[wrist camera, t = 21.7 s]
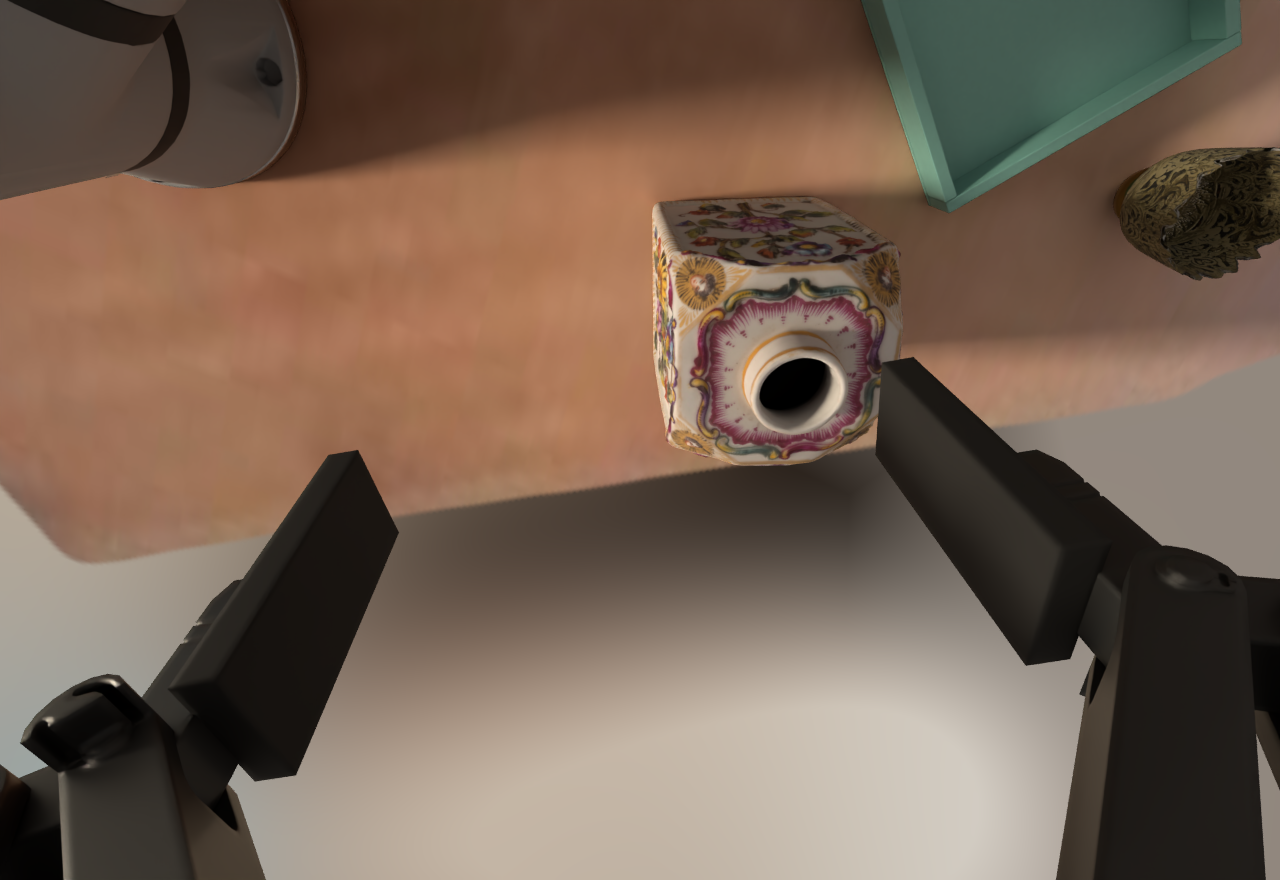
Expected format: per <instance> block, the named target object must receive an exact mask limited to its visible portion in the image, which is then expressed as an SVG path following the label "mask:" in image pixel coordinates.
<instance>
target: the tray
mask: <svg viewBox="0 0 1280 880" xmlns="http://www.w3.org/2000/svg"><path fill="white" fill-rule="evenodd" d="M861 2H862V5H863V8H864V11H865V14H866V17H867V20H868V24H869V27H870V30H871V33H872V36H873V39H874V42H875V45H876V48H877V51H878V54H879V57H880V60H881V63H882V66H883V69H884V72H885V75H886V78H887V81H888V84H889V87H890V90H891V93H892V96H893V99H894V102H895V105H896V108H897V111H898V114H899V117H900V120H901V123H902V126H903V129H904V132H905V135H906V138H907V141H908V144H909V147H910V150H911V153H912V156H913V159H914V162H915V166H916V169H917V172H918V175H919V178H920V181H921V184H922V187H923V190H924V193H925V196H926V199H927V202H928V205H929V206H933V207H935V208H937V209H940V210H942V211H945V212H947V213H951V212H952V211H954V210H956V209H958V208H959V207H961V206H963V205H965V204H966V203H968V202H970V201H972V200H973V199H975V198H977V197H978V196H980V195H982V194H984V193H985V192H987V191H989V190H991V189H992V188H994V187H996V186H997V185H999V184H1001V183H1003V182H1004V181H1006V180H1008V179H1010V178H1011V177H1013V176H1015V175H1016V174H1018V173H1020V172H1022V171H1023V170H1025V169H1027V168H1029V167H1030V166H1032V165H1034V164H1035V163H1037V162H1039V161H1041V160H1042V159H1044V158H1046V157H1048V156H1049V155H1051V154H1053V153H1055V152H1056V151H1058V150H1060V149H1061V148H1063V147H1065V146H1067V145H1068V144H1070V143H1072V142H1074V141H1075V140H1077V139H1079V138H1080V137H1082V136H1084V135H1086V134H1087V133H1089V132H1091V131H1093V130H1094V129H1096V128H1098V127H1099V126H1101V125H1103V124H1105V123H1106V122H1108V121H1110V120H1112V119H1113V118H1115V117H1117V116H1119V115H1120V114H1122V113H1124V112H1125V111H1127V110H1129V109H1131V108H1132V107H1134V106H1136V105H1138V104H1139V103H1141V102H1143V101H1144V100H1146V99H1148V98H1150V97H1151V96H1153V95H1155V94H1157V93H1158V92H1160V91H1162V90H1163V89H1165V88H1167V87H1169V86H1170V85H1172V84H1174V83H1176V82H1177V81H1179V80H1181V79H1183V78H1184V77H1186V76H1188V75H1189V74H1191V73H1193V72H1195V71H1196V70H1198V69H1200V68H1202V67H1203V66H1205V65H1207V64H1208V63H1210V62H1212V61H1214V60H1215V59H1217V58H1219V57H1221V56H1222V55H1224V54H1226V53H1227V52H1229V51H1231V50H1233V49H1234V48H1236V47H1238V46H1240V45H1241V44H1242V39H1241V31H1240V30H1241V14H1240V0H861Z"/></svg>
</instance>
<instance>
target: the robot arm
mask: <svg viewBox="0 0 1280 880" xmlns="http://www.w3.org/2000/svg"><path fill="white" fill-rule="evenodd" d="M306 92H307V76H306V64H305V58H304V52H303V47H302V43H301V39H300V35H299V31H298V28H297V25H296V22H295V20H294V17H293V14H292V12H291V9H290V7H289V5H288V2H287V0H0V200H2V199H7V198H11V197H16V196H20V195H24V194H29V193H33V192H38V191H42V190H47V189H51V188H56V187H60V186H65V185H69V184H73V183H78V182H82V181H87V180H91V179H96V178H100V177H105V176H107V177H112V176H117V175H119V174H120V173H121V174H126V175H131V176H134V177H137V178H140V179H143V180H146V181H150V182H154V183H157V184H162V185H166V186H172V187H179V188H214V187H221V186H226V185H230V184H234V183H238V182H241V181H244V180H247V179H249V178H252V177H254V176H256V175H258V174H260V173H262V172H264V171H265V170H267V169H268V168H270V167H271V166H272V165H274V164H275V163H276V162H277V161H278V160H279V159H280V158H281V157H282V156H283V155H284V153H285V152H286V151H287V150H288V148H289V147H290V145H291V143H292V142H293V140H294V138H295V136H296V134H297V132H298V130H299V127H300V124H301V121H302V118H303V113H304V108H305V102H306ZM107 177H106V178H107ZM876 456H877V458H878V459H879V461H880V462H881V463H882V465H883V466H884V468H885V469H886V470H887V472H888V473H889V475H890V476H891V478H892V479H893V480H894V482H895V483H896V485H897V486H898V487H899V489H900V490H901V492H902V493H903V494H904V496H905V497H906V498H907V500H908V501H909V503H910V504H911V505H912V507H913V508H914V510H915V511H916V512H917V514H918V515H919V517H920V518H921V520H922V521H923V522H924V524H925V525H926V527H927V528H928V529H929V531H930V532H931V534H932V535H933V536H934V538H935V539H936V540H937V542H938V543H939V545H940V546H941V547H942V549H943V550H944V552H945V553H946V554H947V556H948V557H949V559H950V560H951V562H952V563H953V564H954V566H955V567H956V568H957V570H958V571H959V573H960V574H961V576H962V577H963V578H964V580H965V581H966V583H967V584H968V585H969V587H970V588H971V590H972V591H973V592H974V593H975V595H976V597H977V598H978V599H979V601H980V602H981V604H982V605H983V606H984V608H985V609H986V611H987V612H988V613H989V615H990V616H991V617H992V619H993V620H994V622H995V623H996V624H997V626H998V627H999V629H1000V630H1001V632H1002V633H1003V634H1004V636H1005V637H1006V639H1007V640H1008V641H1009V643H1010V644H1011V646H1012V647H1013V648H1014V650H1015V651H1016V652H1017V654H1018V655H1019V657H1020V658H1021V660H1022V661H1023V662H1024V664H1025V665H1026V666H1027V665H1034V664H1041V663H1047V662H1054V661H1060V660H1067V659H1070V658H1071V656H1072V653H1073V650H1074V647H1075V645H1076V642H1077V639H1078V636H1080V638H1081V639H1082V640H1083V641H1084V642H1085V644H1086V645H1087V646H1088V647H1089V648H1090V649H1091V651H1092V652H1093V653H1094V654H1095V656H1094V658H1093V661H1092V664H1091V666H1090V668H1089V671H1088V674H1087V676H1086V679H1085V681H1084V684H1083V686H1082V689H1081V692H1080V695H1082V696H1085V702H1084V708H1083V715H1082V722H1081V727H1080V733H1079V740H1078V746H1077V752H1076V758H1075V765H1074V771H1073V777H1072V783H1071V790H1070V796H1069V802H1068V809H1067V815H1066V821H1065V827H1064V833H1063V839H1062V846H1061V852H1060V858H1059V865H1058V871H1057V877H1056V880H1266V877H1265V862H1264V846H1263V831H1262V816H1261V801H1260V786H1259V770H1258V755H1257V740H1256V734H1257V736H1258V739H1259V742H1260V744H1261V746H1262V749H1263V751H1264V754H1265V756H1266V758H1267V761H1268V763H1269V766H1270V768H1271V770H1272V773H1273V775H1274V777H1275V780H1276V782H1277V784H1278V787H1279V789H1280V579H1271V578H1259V577H1246V576H1237V575H1236V574H1235V573H1234V572H1233V571H1232V570H1231V569H1230V568H1229V567H1228V566H1226V565H1224V564H1223V563H1221V562H1219V561H1217V560H1215V559H1214V558H1212V557H1210V556H1208V555H1205V554H1202V553H1199V552H1196V551H1193V550H1190V549H1187V548H1179V547H1173V546H1162V545H1160V544H1159V543H1158V542H1157V541H1156V540H1155V539H1154V538H1152V537H1151V536H1150V535H1149V534H1148V533H1147V532H1145V531H1144V530H1143V529H1142V528H1141V527H1140V526H1138V525H1137V524H1136V523H1135V522H1133V521H1132V520H1131V519H1130V518H1129V517H1128V516H1127V515H1125V514H1124V513H1123V512H1122V511H1121V510H1120V509H1118V508H1117V507H1116V506H1115V505H1114V504H1112V503H1111V502H1110V501H1109V500H1108V499H1107V498H1105V497H1104V496H1100V493H1099V492H1098V491H1097V490H1096V489H1095V488H1094V487H1092V486H1091V485H1090V484H1089V483H1088V482H1086V483H1085V482H1084V479H1083V478H1082V477H1081V476H1080V475H1078V474H1077V473H1076V472H1075V471H1074V470H1072V469H1071V468H1070V467H1069V466H1068V465H1067V464H1065V463H1064V462H1062V461H1060V460H1058V459H1056V458H1054V457H1052V456H1049V455H1047V454H1045V453H1043V452H1041V451H1039V450H1032V451H1025V452H1019V453H1017V452H1015V451H1014V450H1013V449H1012V448H1011V447H1010V446H1009V445H1008V444H1007V443H1006V442H1005V441H1003V440H1002V439H1001V438H1000V437H999V436H998V435H997V434H996V433H995V432H994V431H993V430H992V429H991V428H989V427H988V426H987V425H986V424H985V423H984V422H983V421H982V420H981V419H980V418H979V417H978V416H976V415H975V414H974V413H973V412H972V411H971V410H970V409H969V408H968V407H967V406H966V405H965V404H963V403H962V402H961V401H960V400H959V399H958V398H957V397H956V396H955V395H954V394H953V393H952V392H950V391H949V390H948V389H947V388H946V387H945V386H944V385H943V384H942V383H941V382H940V381H939V380H937V379H936V378H935V377H934V376H933V375H932V374H931V373H930V372H929V371H928V370H927V369H926V368H924V367H923V366H922V365H921V364H920V363H919V362H918V361H917V360H916V359H915V358H914V357H911V358H905V359H899V360H893V361H887V362H882V367H881V382H880V396H879V411H878V426H877V440H876ZM398 533H399V532H398V530H397V528H396V526H395V524H394V522H393V520H392V518H391V516H390V514H389V512H388V510H387V508H386V506H385V504H384V502H383V500H382V497H381V495H380V493H379V491H378V489H377V487H376V485H375V483H374V481H373V479H372V477H371V475H370V473H369V471H368V469H367V467H366V465H365V463H364V461H363V459H362V457H361V455H360V453H359V451H358V450H356V451H350V452H344V453H338V454H332V455H328V456H327V458H326V459H325V461H324V462H323V464H322V465H321V467H320V468H319V469H318V471H317V472H316V474H315V475H314V477H313V478H312V480H311V481H310V482H309V484H308V485H307V487H306V488H305V490H304V491H303V493H302V494H301V496H300V497H299V498H298V500H297V501H296V503H295V504H294V506H293V507H292V509H291V510H290V512H289V513H288V514H287V516H286V517H285V519H284V520H283V522H282V523H281V525H280V526H279V527H278V529H277V530H276V532H275V533H274V535H273V536H272V538H271V539H270V541H269V542H268V543H267V545H266V546H265V548H264V549H263V551H262V552H261V554H260V555H259V556H258V558H257V559H256V561H255V563H254V564H253V565H252V567H251V568H250V570H249V571H248V573H247V574H246V575H245V577H244V578H243V579H242V580H236V581H233V582H232V583H231V584H230V585H229V586H228V587H227V588H225V589H224V590H223V591H222V592H221V593H220V594H219V595H218V596H216V597H215V598H214V599H213V600H212V601H211V602H210V604H209V605H208V606H207V608H206V609H205V611H204V612H203V613H202V615H201V616H200V617H199V619H198V620H197V622H196V623H197V625H196V626H193V627H192V629H191V630H190V631H189V633H188V634H187V636H186V637H185V638H184V643H183V644H180V645H179V647H178V648H177V649H176V651H175V652H174V654H173V655H172V656H171V658H170V659H169V661H168V662H167V663H166V665H165V666H164V667H163V669H162V670H161V672H160V673H159V674H158V676H157V677H156V679H155V680H154V681H153V683H152V684H151V686H150V687H149V688H148V690H147V691H146V693H145V694H144V695H143V697H142V698H141V697H140V696H139V695H138V694H137V693H136V692H135V691H134V690H133V689H132V688H131V687H130V686H129V685H128V684H127V683H126V682H125V681H124V680H123V679H122V678H121V677H120V676H119V675H111V674H106V675H101V676H98V677H93V678H90V679H88V680H86V681H84V682H82V683H80V684H77V685H75V686H73V687H71V688H70V689H68V690H67V691H65V692H64V693H62V694H61V695H59V696H58V697H56V698H55V699H53V700H52V701H51V702H50V703H49V704H48V705H46V706H45V707H44V708H43V709H42V710H41V711H40V712H39V713H38V714H36V716H35V717H34V718H33V720H32V721H31V722H30V724H29V725H28V726H27V728H26V729H25V730H24V734H23V737H22V739H21V742H20V743H21V744H22V745H23V746H24V747H25V748H27V749H28V750H29V751H31V752H32V753H33V754H35V755H36V756H37V757H38V758H39V759H41V760H42V761H43V762H44V763H46V764H47V765H48V766H47V767H45V768H42V769H40V770H38V771H35V772H33V773H30V774H28V775H25V776H23V777H21V778H18V777H16V776H15V775H13V774H12V773H11V772H9V771H8V770H7V769H5V768H4V767H3V766H2V765H0V880H266V879H265V876H264V873H263V870H262V867H261V864H260V861H259V858H258V855H257V852H256V849H255V846H254V844H253V840H252V837H251V835H250V831H249V828H248V825H247V822H246V819H245V817H244V814H243V811H242V808H241V805H240V802H239V799H238V796H237V794H236V793H235V792H234V790H233V789H232V788H231V787H230V786H229V785H228V782H229V780H230V779H231V777H232V775H233V773H234V771H235V769H236V767H237V765H238V764H239V765H240V766H241V767H242V768H243V769H244V770H245V771H246V773H247V774H248V775H249V776H250V777H251V778H252V779H253V780H254V781H261V780H268V779H274V778H282V777H288V776H294V775H296V774H297V771H298V769H299V767H300V764H301V762H302V759H303V757H304V755H305V753H306V750H307V748H308V746H309V743H310V741H311V738H312V736H313V734H314V731H315V729H316V727H317V724H318V722H319V719H320V717H321V715H322V713H323V710H324V708H325V705H326V703H327V701H328V698H329V696H330V694H331V691H332V689H333V687H334V684H335V682H336V680H337V677H338V675H339V672H340V670H341V668H342V665H343V663H344V661H345V658H346V656H347V653H348V651H349V649H350V646H351V644H352V642H353V639H354V637H355V635H356V632H357V630H358V628H359V625H360V623H361V620H362V618H363V616H364V614H365V611H366V609H367V606H368V604H369V602H370V599H371V597H372V594H373V592H374V590H375V588H376V585H377V583H378V580H379V578H380V576H381V573H382V571H383V569H384V566H385V564H386V562H387V559H388V557H389V555H390V552H391V550H392V548H393V545H394V543H395V540H396V538H397V535H398Z"/></svg>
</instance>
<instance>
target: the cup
mask: <svg viewBox="0 0 1280 880" xmlns="http://www.w3.org/2000/svg"><path fill="white" fill-rule="evenodd" d="M1113 208H1114V211H1115V213H1116V215H1117V217H1118V218H1119V219H1120V224H1121V229H1122V232H1123V234H1124V235H1125V237H1126V239H1127V240H1128V241H1129V242H1130V243H1131V244H1132V245H1133V246H1134V247H1135V248H1136V249H1138V250H1139V251H1141V252H1142V253H1144V254H1145V255H1147V256H1149V257H1151V258H1152V259H1154V260H1156V261H1158V262H1160V263H1162V264H1163V265H1165V266H1167V267H1169V268H1171V269H1173V270H1175V271H1177V272H1179V273H1180V274H1182V275H1187V276H1189V277H1190V278H1192V279H1195V280H1201V279H1202V278H1203V277H1202V276H1204V277H1208V278H1221V277H1222V276H1223V274H1224V273H1236V272H1238V261H1237V260H1250V259H1258V258H1261V256H1260V254H1259V253H1258V251H1257V249H1258V248H1260V247H1261V246H1264V245H1268V244H1271V243H1273V242H1274V241H1276V240H1278V239H1280V148H1275V147H1273V148H1263V147H1260V148H1211V149H1198V150H1191V151H1186V152H1182V153H1178V154H1176V155H1173V156H1170V157H1168V158H1165V159H1163V160H1161V161H1160V162H1158V163H1156V164H1155V165H1153V166H1152V167H1150V168H1146V169H1143V170H1140V171H1138V172H1136V173H1134V174H1132V175H1131V176H1130V177H1128V178H1127V179H1126V180H1125V181H1124V182H1123V183H1122V184H1121V186H1120V187H1119V189H1118V190H1117V192H1116V194H1115V197H1114V202H1113Z"/></svg>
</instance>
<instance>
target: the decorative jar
mask: <svg viewBox="0 0 1280 880" xmlns="http://www.w3.org/2000/svg"><path fill="white" fill-rule="evenodd" d="M652 220H653V227H652V230H653V260H652V261H653V327H654V328H653V334H654V349H653V357H654V365H655V372H656V378H657V384H658V390H659V396H660V402H661V407H662V412H663V416H664V421H665V427H666V433H665V438H666V441H667V442H668V443H669V444H670V445H672V446H673V447H676V448H680V449H683V450H688V451H691V452H693V453H695V454H697V455H700V456H703V457H713V458H716V459H719V460H722V461H725V462H728V463H731V464H734V465H756V466H769V465H778V466H779V465H791V464H798V463H808V462H812V461H815V460H817V459H819V458H821V457H823V456H824V455H826V454H828V453H830V452H832V451H834V450H836V449H838V448H840V447H842V446H844V445H846V444H848V443H849V444H850V443H852V442H853V441H855V440H857V439H858V438H859V437H860V436H862V435H863V434H866V433H867V432H868V430H869V428H870V427H871V426H872V425H873V422H874V420H875V419H876V418H877V417H878V411H879V396H880V382H881V367H882V362H887V361H893V360H899V359H900V351H901V340H902V334H903V322H902V317H903V313H902V310H901V299H900V294H901V283H900V274H899V265H898V259H899V257H900V252H899V251H898V249H897V247H896V246H895V244H893V243H892V242H890V241H889V240H887V239H886V238H884V237H883V236H881V235H880V234H878V233H876V232H875V231H873V230H872V229H870V228H869V227H867V226H865V225H864V224H862V223H861V222H859V221H858V220H856V219H855V218H853V217H851V216H850V215H848V214H846V213H845V212H843V211H842V210H840V209H838V208H837V207H834V206H833V205H831V204H829V203H827V202H825V201H823V200H821V199H819V198H815V197H799V198H796V197H777V198H751V199H750V198H748V199H725V200H706V201H700V200H699V201H666V202H659V203H656V204H655V205H654V208H653V211H652Z"/></svg>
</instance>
